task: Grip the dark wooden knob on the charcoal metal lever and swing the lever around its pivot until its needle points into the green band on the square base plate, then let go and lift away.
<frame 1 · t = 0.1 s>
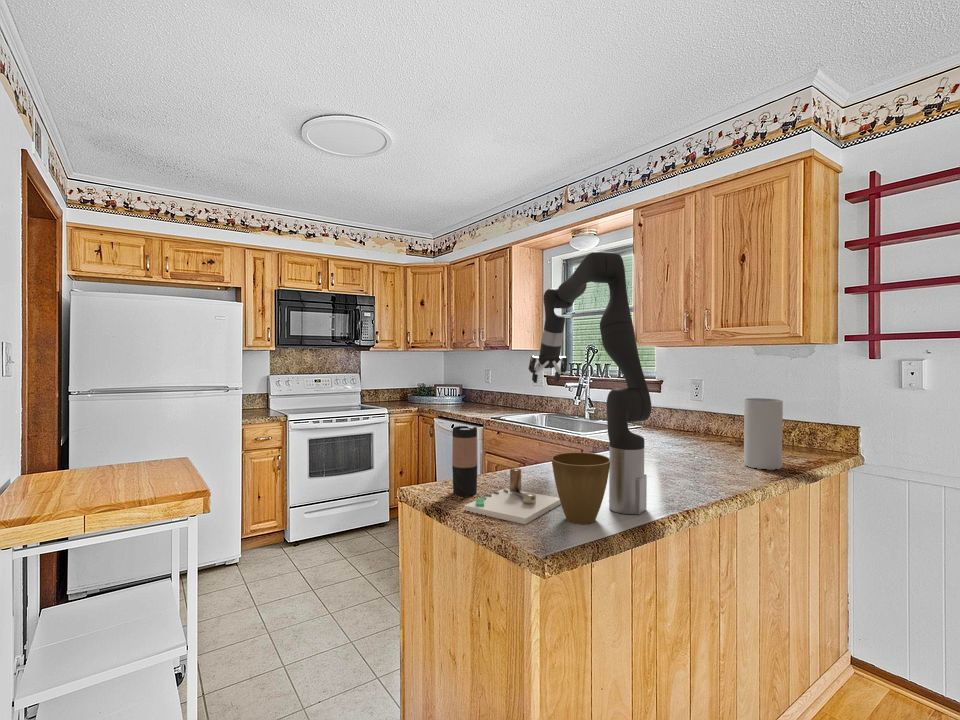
hand: (545, 382, 195), 31 cm above the counter, tool tilted 20°, fingers open, 8 cm apart
dial lever: (521, 484, 146), point 5 cm above the counter, hinge at -35.0°
square base plate: (529, 509, 141), on the counter
plant pot: (580, 520, 133), on the counter
travel mug: (464, 493, 157), on the counter
cylinder vase: (762, 467, 192), on the counter
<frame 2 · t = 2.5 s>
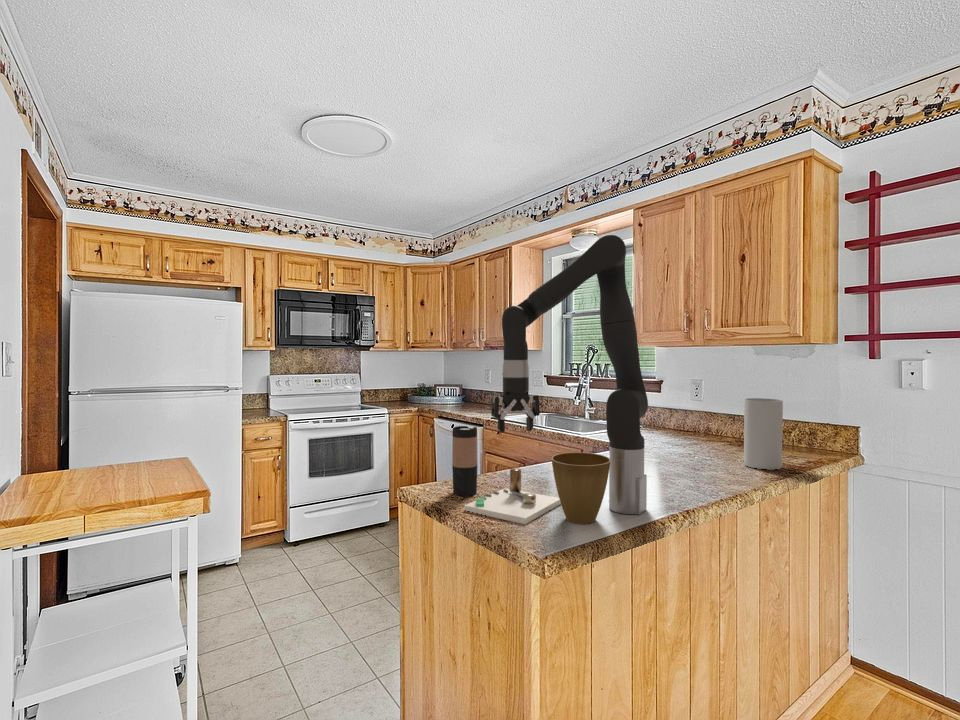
hand: (515, 431, 149), 20 cm above the counter, tool pointing down, fingers open, 8 cm apart
nothing on the counter moved.
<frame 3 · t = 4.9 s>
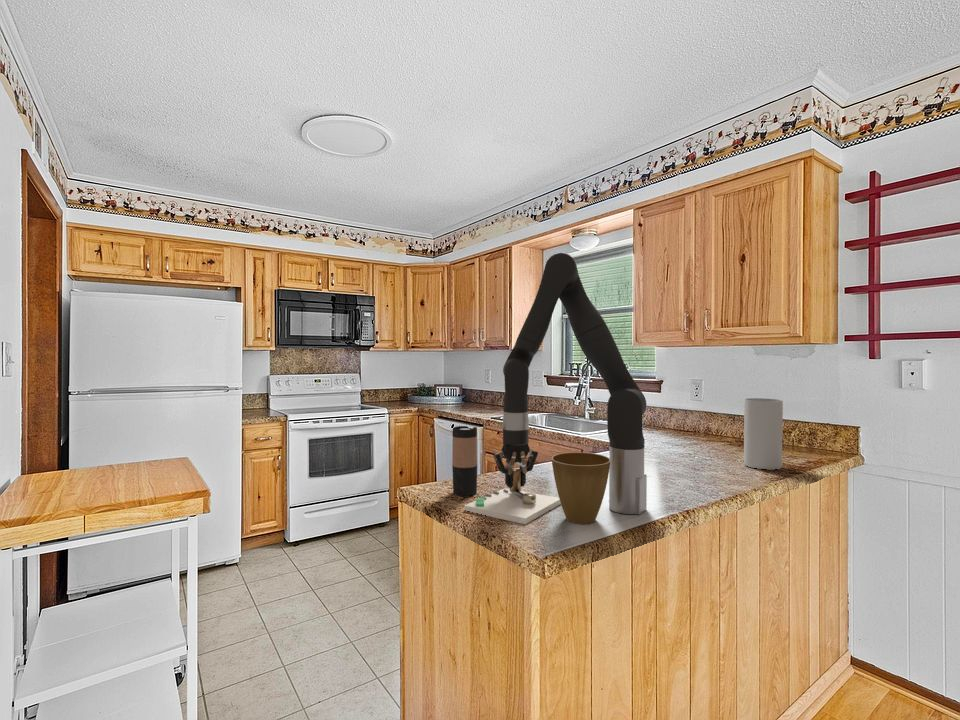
hand: (515, 486, 150), 4 cm above the counter, tool pointing down, fingers closed on dial lever, 3 cm apart
dial lever: (521, 484, 146), point 5 cm above the counter, hinge at -35.0°, touching gripper
everything else where it was.
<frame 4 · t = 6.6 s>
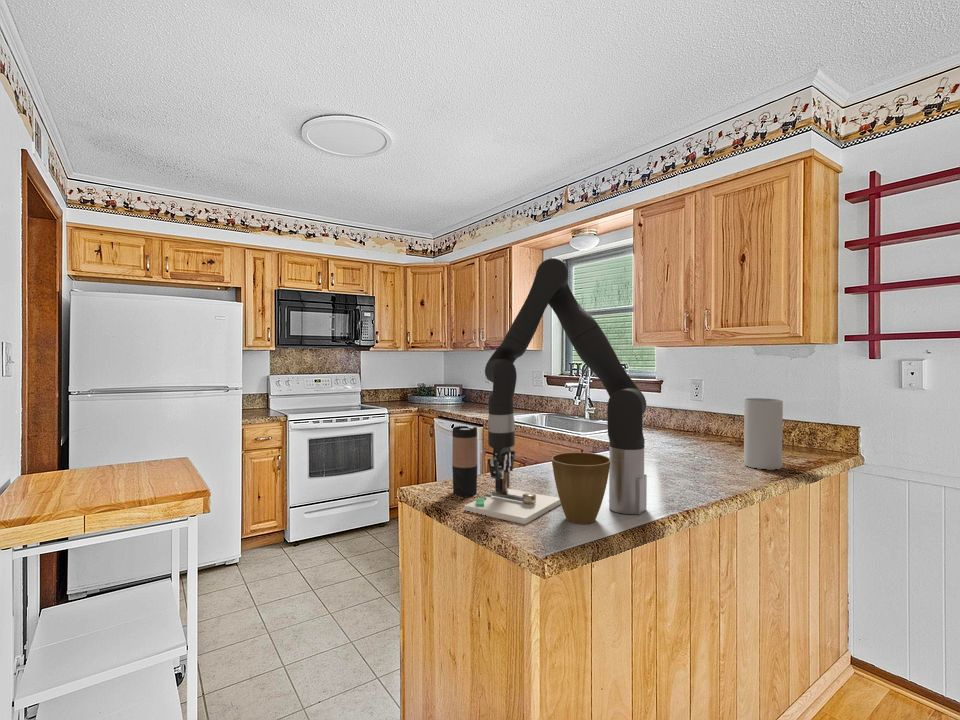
hand: (502, 489, 146), 4 cm above the counter, tool pointing down, fingers closed on dial lever, 3 cm apart
dial lever: (513, 486, 144), point 6 cm above the counter, hinge at -1.0°, touching gripper
everything else where it was.
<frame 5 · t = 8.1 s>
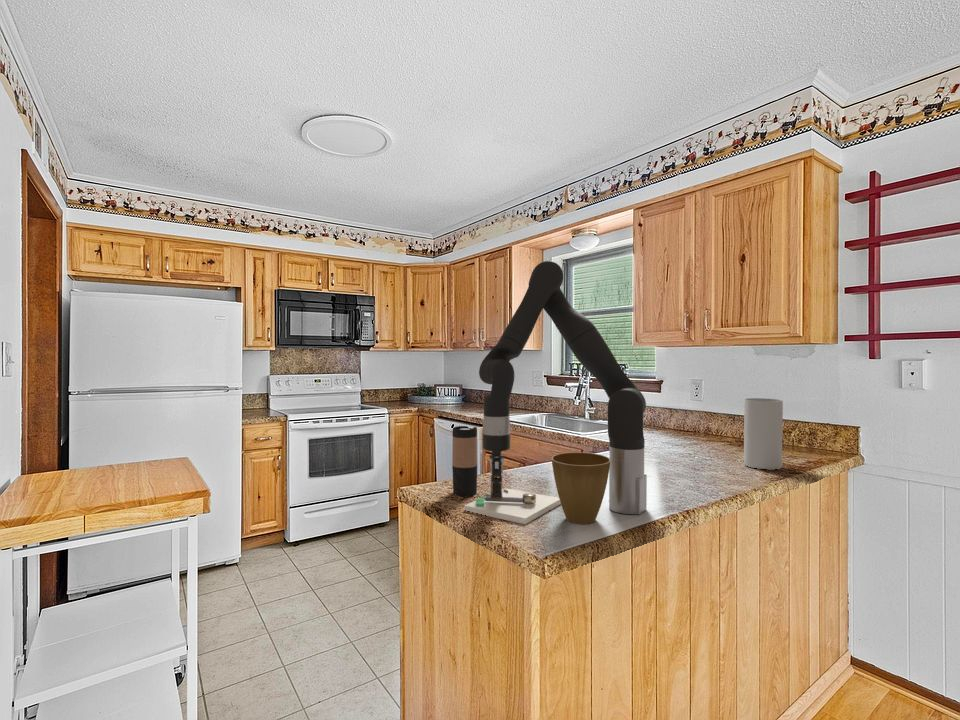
hand: (496, 493, 142), 4 cm above the counter, tool pointing down, fingers open, 5 cm apart
dial lever: (510, 488, 142), point 5 cm above the counter, hinge at 26.0°
everything else where it was.
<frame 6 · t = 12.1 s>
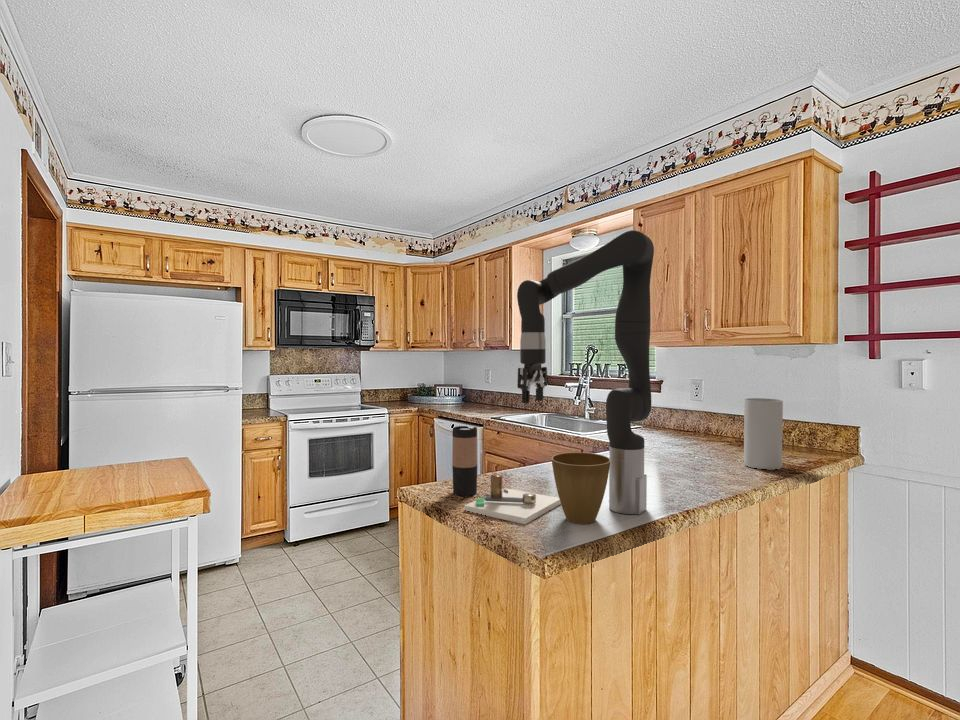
hand: (532, 401, 155), 28 cm above the counter, tool pointing down, fingers open, 8 cm apart
nothing on the counter moved.
at the end: dial lever at +26° (first picture: -35°); the gripper is holding nothing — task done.
